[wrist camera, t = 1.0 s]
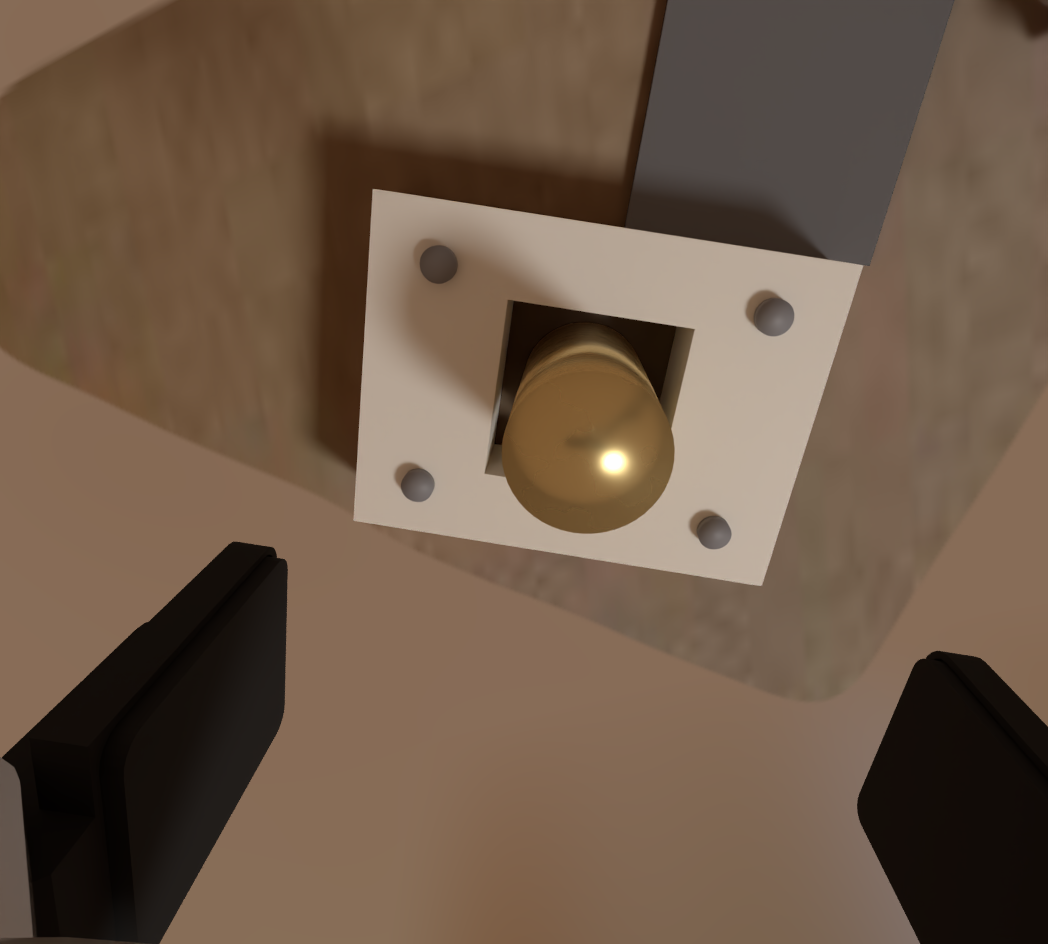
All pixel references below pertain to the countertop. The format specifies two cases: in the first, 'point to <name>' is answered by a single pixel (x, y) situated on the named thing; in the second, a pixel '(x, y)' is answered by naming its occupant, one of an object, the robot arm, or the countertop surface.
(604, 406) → the brass domed cylinder
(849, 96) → the mat
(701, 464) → the plate
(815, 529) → the countertop surface
